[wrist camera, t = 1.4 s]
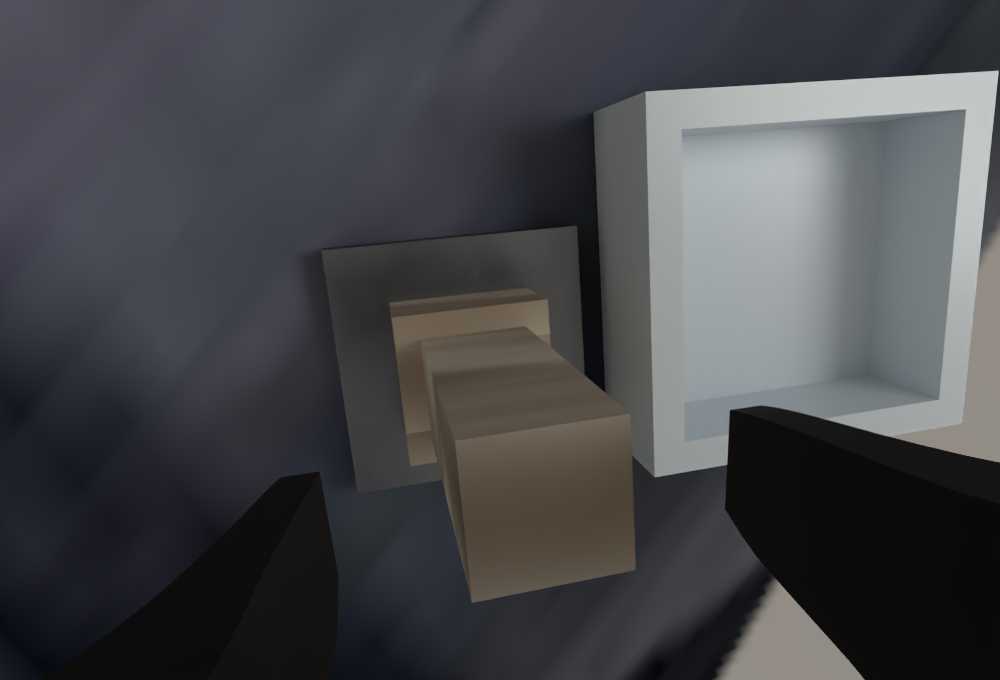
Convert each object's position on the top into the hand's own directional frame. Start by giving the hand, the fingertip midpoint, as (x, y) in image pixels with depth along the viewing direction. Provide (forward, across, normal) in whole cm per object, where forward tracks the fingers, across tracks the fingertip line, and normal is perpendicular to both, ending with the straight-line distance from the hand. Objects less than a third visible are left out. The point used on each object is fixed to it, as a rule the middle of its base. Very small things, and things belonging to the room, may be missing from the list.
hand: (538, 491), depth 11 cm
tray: (+11, -10, -1) cm, 15 cm away
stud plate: (+11, 0, +1) cm, 11 cm away
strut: (+10, 0, +1) cm, 10 cm away
